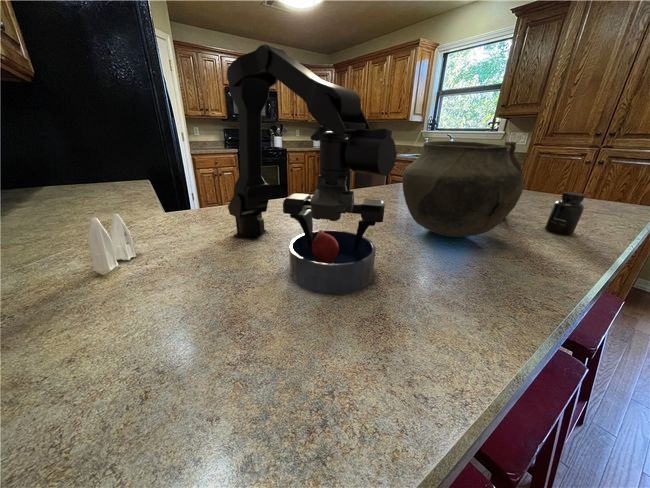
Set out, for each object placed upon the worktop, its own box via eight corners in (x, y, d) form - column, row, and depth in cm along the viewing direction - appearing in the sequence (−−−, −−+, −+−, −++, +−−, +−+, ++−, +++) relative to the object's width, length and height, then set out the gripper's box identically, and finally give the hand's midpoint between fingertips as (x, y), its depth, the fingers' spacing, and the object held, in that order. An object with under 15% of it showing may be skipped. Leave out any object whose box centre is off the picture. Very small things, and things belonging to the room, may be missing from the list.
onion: (339, 260, 52) (327, 222, 54) (313, 269, 54) (302, 232, 56) (346, 261, 58) (335, 227, 60) (322, 269, 60) (312, 236, 61)
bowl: (277, 286, 50) (275, 258, 48) (304, 249, 66) (304, 226, 63) (369, 301, 47) (372, 270, 44) (375, 258, 62) (377, 234, 60)
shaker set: (112, 279, 51) (93, 225, 47) (87, 280, 51) (66, 225, 46) (141, 252, 62) (128, 206, 58) (121, 253, 61) (107, 206, 57)
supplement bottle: (548, 233, 80) (563, 194, 75) (541, 226, 86) (555, 189, 81) (577, 237, 78) (594, 197, 73) (567, 230, 84) (583, 192, 79)
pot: (489, 267, 59) (525, 148, 49) (376, 228, 81) (386, 140, 71) (527, 237, 77) (559, 145, 67) (426, 212, 99) (439, 139, 89)
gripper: (268, 172, 43) (273, 259, 49) (387, 179, 39) (376, 273, 45) (292, 164, 53) (293, 237, 59) (389, 169, 49) (379, 247, 55)
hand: (332, 248), depth 54 cm, fingers open, 9 cm apart
